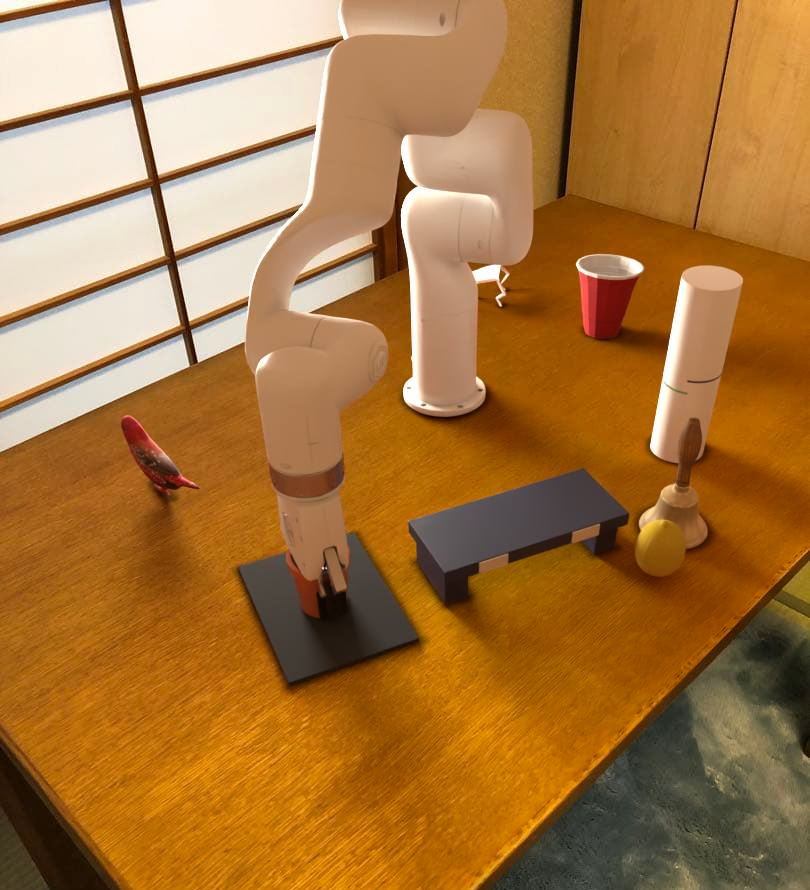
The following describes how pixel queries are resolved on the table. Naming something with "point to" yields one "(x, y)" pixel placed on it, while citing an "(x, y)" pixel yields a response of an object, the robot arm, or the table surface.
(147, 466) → the decorative bird figurine
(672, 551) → the lemon
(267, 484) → the table surface
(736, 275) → the cylindrical container
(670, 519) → the hand bell
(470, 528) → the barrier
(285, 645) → the mat
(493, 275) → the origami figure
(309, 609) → the pot
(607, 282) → the plastic cup
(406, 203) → the robot arm
